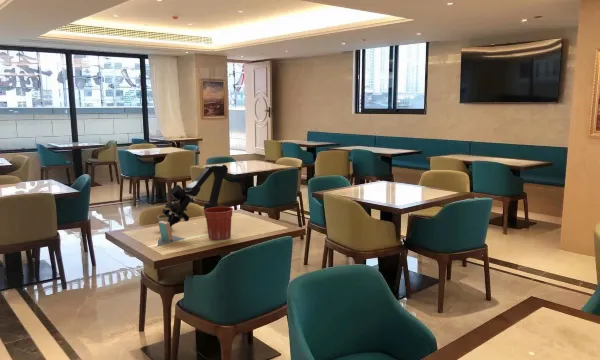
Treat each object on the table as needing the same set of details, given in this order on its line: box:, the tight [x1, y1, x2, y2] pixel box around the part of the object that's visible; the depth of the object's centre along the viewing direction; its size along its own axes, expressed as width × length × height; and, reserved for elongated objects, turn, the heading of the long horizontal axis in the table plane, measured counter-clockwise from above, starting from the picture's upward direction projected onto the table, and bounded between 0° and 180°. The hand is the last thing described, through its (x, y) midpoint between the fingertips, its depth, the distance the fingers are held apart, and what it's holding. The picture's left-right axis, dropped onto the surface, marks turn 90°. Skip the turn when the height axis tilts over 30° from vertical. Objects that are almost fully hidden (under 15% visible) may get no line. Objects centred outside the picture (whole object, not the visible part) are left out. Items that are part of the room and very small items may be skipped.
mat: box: [157, 234, 186, 247], centre depth 272 cm, size 20×15×1 cm
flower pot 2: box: [203, 206, 234, 241], centre depth 276 cm, size 16×16×16 cm
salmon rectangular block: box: [157, 221, 173, 241], centre depth 273 cm, size 3×7×10 cm, turn 50°
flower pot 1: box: [157, 214, 173, 230], centre depth 298 cm, size 9×9×9 cm
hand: (167, 227), depth 274 cm, fingers closed
